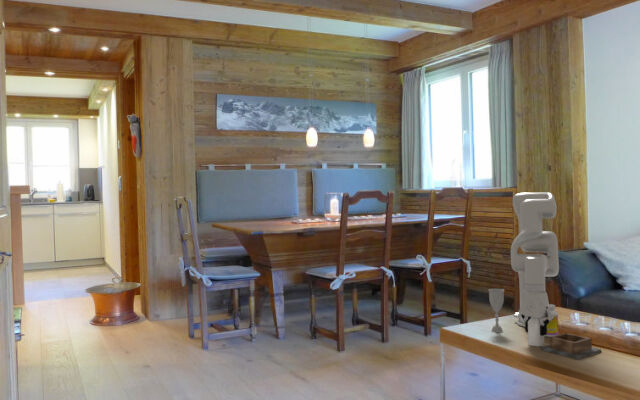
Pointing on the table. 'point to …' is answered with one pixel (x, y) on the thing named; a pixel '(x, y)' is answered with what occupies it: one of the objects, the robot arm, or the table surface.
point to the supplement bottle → (552, 322)
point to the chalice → (496, 305)
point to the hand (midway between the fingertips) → (536, 332)
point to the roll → (535, 332)
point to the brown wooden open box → (571, 346)
